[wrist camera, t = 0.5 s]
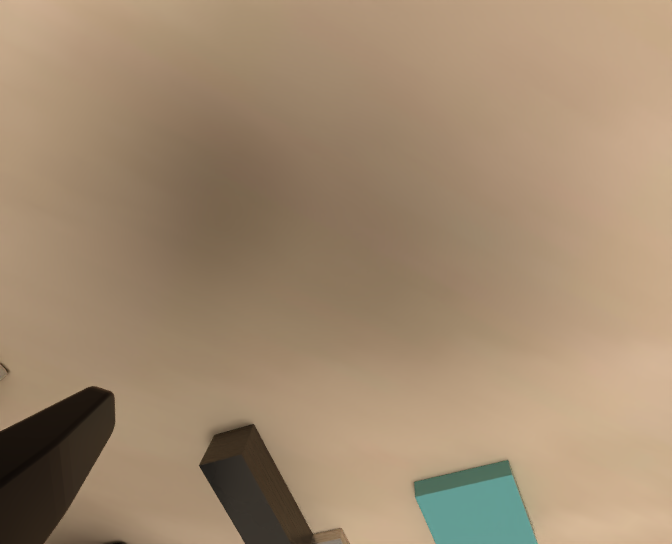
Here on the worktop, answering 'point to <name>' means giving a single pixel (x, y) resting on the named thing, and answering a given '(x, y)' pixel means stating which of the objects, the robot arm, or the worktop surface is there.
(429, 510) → the tile
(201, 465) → the turner
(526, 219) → the worktop surface
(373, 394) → the worktop surface
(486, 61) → the worktop surface
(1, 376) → the supplement box
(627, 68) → the worktop surface
